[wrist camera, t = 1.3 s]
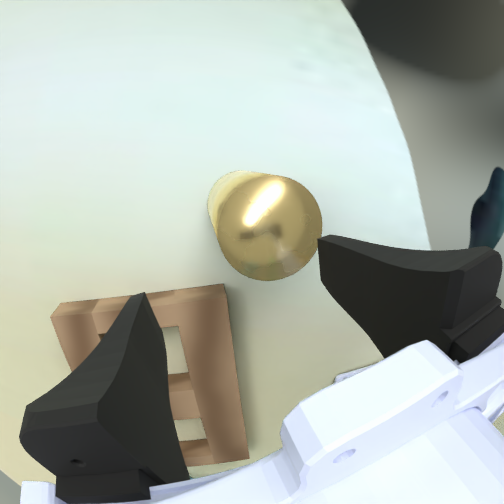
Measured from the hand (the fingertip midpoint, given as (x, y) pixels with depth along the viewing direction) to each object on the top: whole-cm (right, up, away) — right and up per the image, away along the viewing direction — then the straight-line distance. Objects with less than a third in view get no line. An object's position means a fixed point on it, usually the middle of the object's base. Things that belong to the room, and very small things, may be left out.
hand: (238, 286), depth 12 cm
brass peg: (0, +5, +11) cm, 12 cm away
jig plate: (-8, -12, +14) cm, 20 cm away
